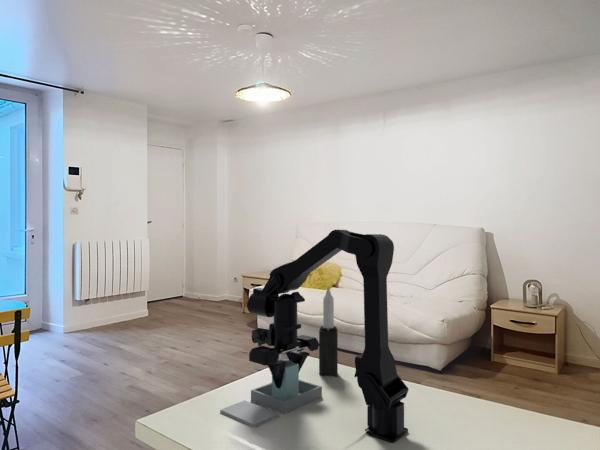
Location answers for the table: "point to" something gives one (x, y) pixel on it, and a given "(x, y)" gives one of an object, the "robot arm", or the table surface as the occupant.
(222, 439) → the table surface
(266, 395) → the case
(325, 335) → the black grey pointed bar
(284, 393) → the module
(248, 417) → the lid panel
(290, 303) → the robot arm
